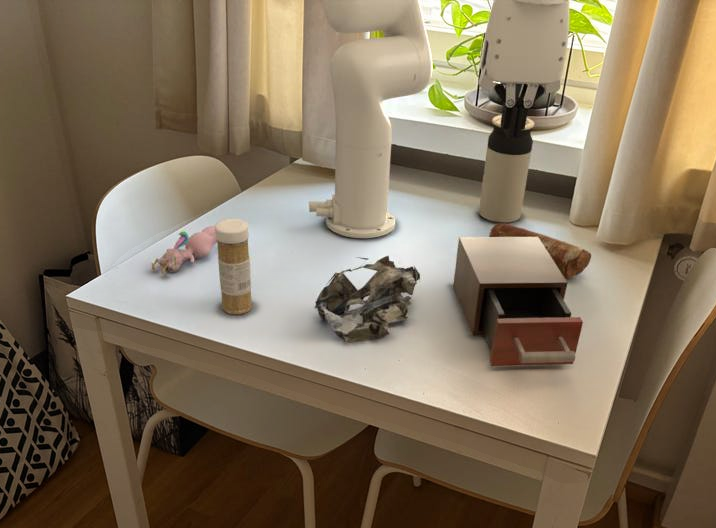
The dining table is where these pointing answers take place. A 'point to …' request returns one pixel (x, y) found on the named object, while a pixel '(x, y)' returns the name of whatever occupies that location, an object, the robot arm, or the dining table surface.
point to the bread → (551, 249)
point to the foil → (367, 301)
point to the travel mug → (505, 173)
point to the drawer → (529, 327)
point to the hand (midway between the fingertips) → (511, 134)
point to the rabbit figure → (187, 249)
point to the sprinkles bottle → (234, 265)
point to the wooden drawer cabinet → (501, 271)
